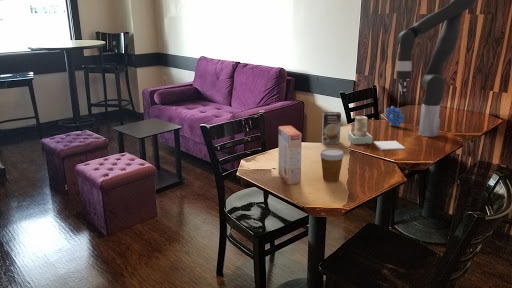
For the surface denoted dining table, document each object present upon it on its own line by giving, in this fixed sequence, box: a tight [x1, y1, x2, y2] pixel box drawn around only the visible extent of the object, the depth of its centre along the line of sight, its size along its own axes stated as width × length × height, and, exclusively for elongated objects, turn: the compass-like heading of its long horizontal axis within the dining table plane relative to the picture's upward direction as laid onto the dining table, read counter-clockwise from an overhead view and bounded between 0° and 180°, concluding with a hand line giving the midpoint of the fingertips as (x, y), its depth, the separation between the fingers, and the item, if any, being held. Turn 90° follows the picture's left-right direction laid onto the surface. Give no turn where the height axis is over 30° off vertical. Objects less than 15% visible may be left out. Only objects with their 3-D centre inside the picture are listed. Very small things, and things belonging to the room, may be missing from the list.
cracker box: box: [277, 125, 303, 185], centre depth 160 cm, size 14×6×21 cm, turn 12°
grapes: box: [384, 105, 404, 127], centre depth 235 cm, size 12×7×12 cm, turn 47°
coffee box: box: [321, 111, 342, 145], centre depth 206 cm, size 9×6×16 cm
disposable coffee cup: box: [319, 147, 345, 183], centre depth 158 cm, size 10×10×12 cm
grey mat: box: [372, 140, 406, 151], centre depth 200 cm, size 12×12×1 cm
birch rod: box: [353, 115, 368, 137], centre depth 208 cm, size 5×5×13 cm
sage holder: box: [347, 131, 373, 145], centre depth 209 cm, size 10×10×4 cm
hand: (402, 100), depth 210 cm, fingers open, 8 cm apart
